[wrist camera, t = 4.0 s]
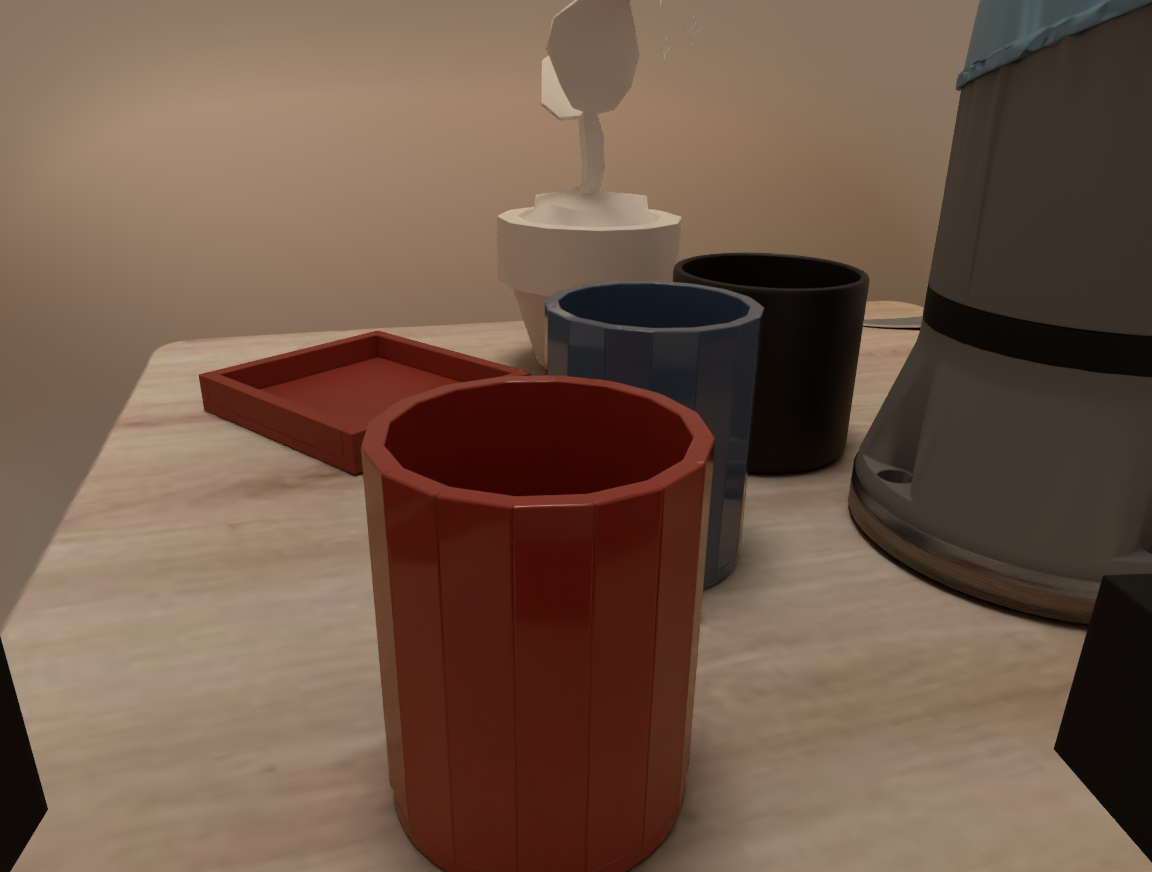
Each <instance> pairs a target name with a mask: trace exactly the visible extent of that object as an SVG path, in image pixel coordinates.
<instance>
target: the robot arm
mask: <svg viewBox="0 0 1152 872" xmlns="http://www.w3.org/2000/svg"><path fill="white" fill-rule="evenodd" d="M956 90H959V91H960V90H961V95H960V100H959V106H958V112H957V119H956V125H955V130H954V136H953V142H952V149H951V155H950V160H949V167H948V172H947V178H946V185H945V190H944V197H943V203H942V209H941V214H940V220H939V226H938V232H937V237H936V243H935V248H934V254H933V260H932V265H931V270H930V277H929V282H928V288H927V294H926V300H925V306H924V311H923V318H922V323H921V328H920V333H919V336H918V339H917V342H916V343H915V345H914V347H913V349H912V351H911V353H910V355H909V356H908V358H907V360H906V362H905V364H904V366H903V368H902V369H901V371H900V373H899V375H898V377H897V379H896V381H895V382H894V384H893V386H892V388H891V390H890V392H889V394H888V396H887V397H886V399H885V401H884V403H883V405H882V407H881V409H880V410H879V412H878V414H877V416H876V418H875V420H874V422H873V423H872V425H871V427H870V429H869V431H868V433H867V435H866V436H865V438H864V440H863V442H862V444H861V446H860V449H859V451H858V453H857V454H856V457H855V459H854V465H853V471H852V478H851V485H850V491H849V507H850V510H851V513H852V515H853V517H854V519H855V521H856V522H857V524H858V525H859V526H860V528H861V529H862V530H863V531H864V532H865V534H866V535H867V536H868V537H869V538H870V539H871V540H872V541H874V542H875V543H876V544H877V545H878V546H880V547H881V548H882V549H883V550H885V551H886V552H887V553H889V554H890V555H892V556H893V557H894V558H896V559H898V560H899V561H901V562H902V563H904V564H905V565H907V566H909V567H911V568H912V569H914V570H916V571H918V572H920V573H921V574H923V575H925V576H927V577H929V578H931V579H933V580H935V581H938V582H940V583H942V584H944V585H947V586H949V587H951V588H953V589H956V590H958V591H961V592H964V593H966V594H969V595H971V596H974V597H977V598H980V599H983V600H985V601H989V602H992V603H995V604H998V605H1001V606H1005V607H1008V608H1012V609H1015V610H1019V611H1023V612H1027V613H1031V614H1035V615H1039V616H1043V617H1048V618H1053V619H1058V620H1063V621H1069V622H1075V623H1081V624H1088V625H1089V627H1088V630H1087V634H1086V637H1085V641H1084V644H1083V648H1082V651H1081V655H1080V658H1079V662H1078V665H1077V669H1076V672H1075V676H1074V679H1073V683H1072V687H1071V690H1070V694H1069V697H1068V701H1067V704H1066V708H1065V711H1064V715H1063V718H1062V722H1061V725H1060V729H1059V732H1058V736H1057V739H1056V743H1055V747H1054V750H1055V751H1056V752H1057V753H1058V755H1059V756H1060V757H1061V758H1062V759H1063V760H1064V761H1065V763H1066V764H1067V765H1068V766H1069V767H1070V768H1071V770H1072V771H1073V772H1074V773H1075V774H1076V775H1077V777H1078V778H1079V779H1080V780H1081V781H1082V782H1083V783H1084V785H1085V786H1086V787H1087V788H1088V789H1089V790H1090V792H1091V793H1092V794H1093V795H1094V796H1095V797H1096V799H1097V800H1098V801H1099V802H1100V803H1101V804H1102V805H1103V807H1104V808H1105V809H1106V810H1107V811H1108V812H1109V814H1110V815H1111V816H1112V817H1113V818H1114V819H1115V820H1116V822H1117V823H1118V824H1119V825H1120V826H1121V827H1122V829H1123V830H1124V831H1125V832H1126V833H1127V834H1128V836H1129V837H1130V838H1131V839H1132V840H1133V841H1134V842H1135V844H1136V845H1137V846H1138V847H1139V848H1140V849H1141V851H1142V852H1143V853H1144V854H1145V855H1146V856H1147V857H1148V859H1149V860H1150V861H1151V862H1152V0H980V1H979V6H978V10H977V15H976V19H975V23H974V28H973V32H972V36H971V41H970V45H969V49H968V54H967V58H966V62H965V67H964V70H963V71H962V72H961V73H960V74H959V75H958V78H957V84H956ZM47 810H48V808H47V804H46V800H45V797H44V793H43V789H42V786H41V782H40V779H39V775H38V771H37V768H36V764H35V760H34V757H33V753H32V750H31V746H30V742H29V739H28V735H27V731H26V728H25V724H24V721H23V717H22V713H21V710H20V706H19V702H18V699H17V695H16V692H15V688H14V684H13V681H12V677H11V673H10V670H9V666H8V663H7V659H6V655H5V652H4V648H3V644H2V641H1V637H0V872H10V871H11V870H12V868H13V866H14V865H15V863H16V861H17V860H18V858H19V856H20V855H21V853H22V851H23V850H24V848H25V846H26V845H27V843H28V842H29V840H30V838H31V837H32V835H33V833H34V832H35V830H36V828H37V827H38V825H39V823H40V822H41V820H42V818H43V817H44V815H45V814H46V812H47Z"/></svg>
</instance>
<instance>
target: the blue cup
mask: <svg viewBox="0 0 1152 872" xmlns="http://www.w3.org/2000/svg"><path fill="white" fill-rule="evenodd" d="M763 316H764V307H763V306H761V305H760V304H759V303H758V302H756V301H755V300H754V299H752V298H750V297H748V296H745V295H742V294H739V293H735V292H732V291H729V290H726V289H721V288H715V287H709V286H703V285H697V284H690V283H678V282H664V281H612V282H602V283H593V284H584V285H579V286H575V287H571V288H567V289H563V290H560V291H557V292H556V293H554V294H553V295H551V296H550V297H548V298H547V299H546V300H545V376H552V375H557V376H559V375H560V376H570V377H579V378H589V379H598V380H608V381H613V382H618V383H622V384H626V385H630V386H633V387H637V388H641V389H645V390H649V391H653V392H656V393H660V394H663V395H665V396H667V397H669V398H671V399H673V400H675V401H676V402H678V403H680V404H682V405H684V406H686V407H688V408H690V409H692V410H693V411H695V412H697V413H698V414H699V415H700V416H701V418H702V419H703V421H704V422H705V424H706V425H707V426H708V428H709V429H710V431H711V432H712V434H713V435H714V437H715V449H714V461H713V473H712V485H711V498H710V510H709V522H708V534H707V546H706V559H705V571H704V583H703V589H705V588H708V587H710V586H712V585H714V584H716V583H718V582H720V581H721V580H722V579H724V578H725V577H726V576H727V575H729V574H730V573H731V572H732V570H733V569H734V567H735V566H736V564H737V561H738V557H739V547H740V542H741V538H742V529H743V519H744V509H745V499H746V488H747V478H748V468H749V458H750V448H751V438H752V428H753V418H754V408H755V397H756V387H757V377H758V367H759V357H760V347H761V337H762V327H763Z"/></svg>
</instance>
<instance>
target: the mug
mask: <svg viewBox="0 0 1152 872" xmlns="http://www.w3.org/2000/svg"><path fill="white" fill-rule="evenodd" d="M673 282H678V283H690V284H697V285H703V286H709V287H715V288H721V289H726V290H729V291H732V292H735V293H739V294H742V295H745V296H748V297H750V298H752V299H754V300H755V301H756V302H758V303H759V304H760V305H761V306H763V307H764V316H763V327H762V337H761V347H760V357H759V367H758V377H757V387H756V397H755V408H754V418H753V428H752V438H751V448H750V458H749V468H748V471H751V472H764V473H783V472H796V471H804V470H809V469H814V468H818V467H821V466H823V465H826V464H828V463H830V462H832V461H834V460H835V459H836V458H837V457H838V456H839V455H840V454H841V452H842V451H843V449H844V448H845V446H846V439H847V432H848V425H849V418H850V411H851V404H852V398H853V391H854V384H855V377H856V370H857V363H858V356H859V349H860V342H861V335H862V328H863V321H864V314H865V307H866V299H867V293H868V287H869V277H868V275H867V273H865V272H864V271H862V270H860V269H858V268H855V267H853V266H850V265H846V264H843V263H839V262H835V261H830V260H825V259H819V258H813V257H805V256H796V255H786V254H771V253H722V254H709V255H703V256H696V257H692V258H688V259H685V260H682V261H680V262H678V263H677V264H676V265H675V267H674V269H673Z"/></svg>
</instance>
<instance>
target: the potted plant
mask: <svg viewBox="0 0 1152 872" xmlns="http://www.w3.org/2000/svg"><path fill="white" fill-rule="evenodd" d="M661 4H662V0H659V5H660V12H661ZM694 13H695V12H694ZM686 31H688V32H689V34H690V37H691V46H692V45H693V41H694V38H695V35H696V34H697V33H698V32H699V31H701V29H699V28H698V27H697V25H696V20H695V14H694V18H693V22H692V25H691V26H690V28H689V29H688V30H686ZM546 49H547V52H548V56H547V57H546V58H544V59H543V60H542V77H541V79H542V82H541V83H542V106H543V107H544V108H545V109H547V110H548V111H549V112H550V113H552V114H553V115H554V116H555V117H556V118H557V119H559V120H571V119H578V122H579V134H580V146H581V156H582V166H583V169H582V180H581V185H580V186H579V187H577V188H574V189H571V190H561V191H555V192H550V193H545V194H539V195H536V199H535V204H534V207H529V208H521V209H513V210H508V211H506V212H504V213H502V214H500V215H498V216H497V245H498V279H499V280H501V281H502V282H503V283H504V284H506V285H507V286H508V287H509V288H511V289H513V290H514V293H515V296H516V299H517V302H518V305H519V308H520V311H521V314H522V317H523V320H524V323H525V326H526V329H527V332H528V335H529V338H530V341H531V344H532V347H533V350H534V353H535V356H536V359H537V361H538V362H539V363H540V364H541V365H543V366H544V367H545V300H546V299H547V298H548V297H550V296H551V295H553V294H554V293H556V292H557V291H560V290H563V289H567V288H571V287H575V286H579V285H584V284H593V283H602V282H612V281H664V282H673V269H674V267H675V265H676V264H677V263H678V262H679V249H680V232H681V217H680V216H677V215H673V214H670V213H667V212H664V211H658V210H650V209H648V202H647V196H644V195H636V194H626V193H618V192H610V191H601V190H599V188H600V186H601V181H602V177H603V172H604V168H605V167H604V137H603V132H602V129H601V126H600V122H599V119H598V116H597V114H599V113H604V112H607V111H612V110H614V109H615V108H616V107H617V106H618V104H619V103H620V101H621V100H622V99H623V97H624V96H625V94H626V93H627V92H628V91H629V89H630V88H631V85H632V81H633V77H634V74H635V69H636V66H637V62H638V59H639V51H638V44H637V38H636V31H635V25H634V21H633V16H632V12H631V6H630V0H574V1H573V2H572V3H570V4H569V5H568V6H566V7H565V8H564V9H563V10H562V11H560V12H559V13H558V14H556V15H555V16H554V17H553V19H552V24H551V29H550V34H549V38H548V43H547V48H546ZM661 50H662V51H663V54H664V64H665V60H666V55H667V53H668V51H669V50H670V48H669V47H668V44H667V34H666V40H665V44H664V46H663V48H662V49H661Z"/></svg>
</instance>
